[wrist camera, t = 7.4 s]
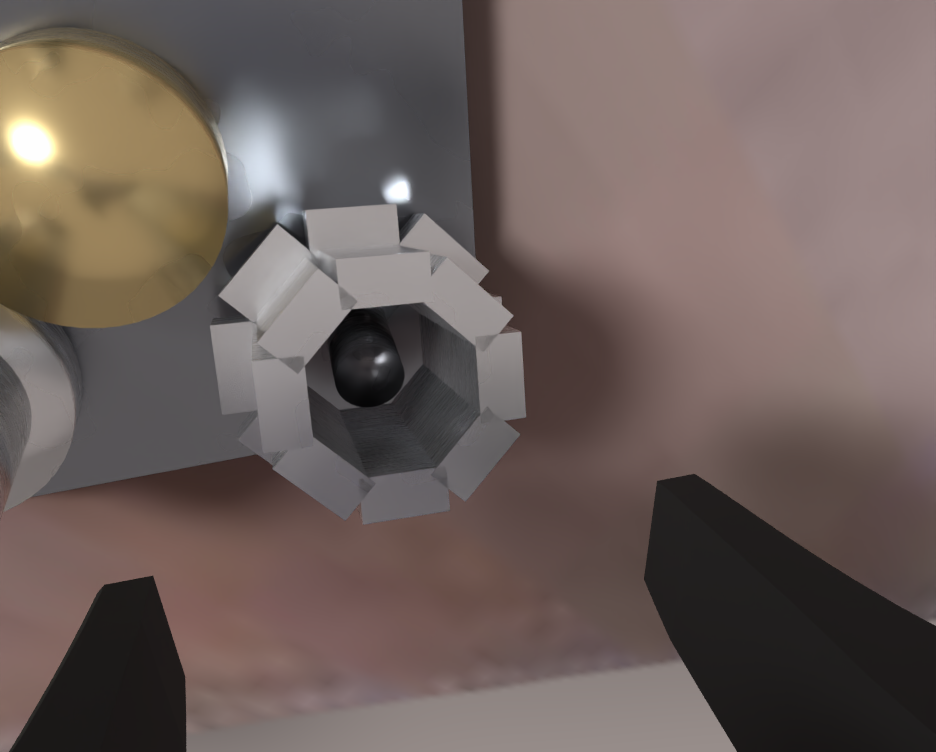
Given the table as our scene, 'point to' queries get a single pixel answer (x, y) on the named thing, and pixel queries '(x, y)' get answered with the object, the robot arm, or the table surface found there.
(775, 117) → the table surface
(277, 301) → the gear
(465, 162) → the carrier
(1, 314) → the silver rounded piece
